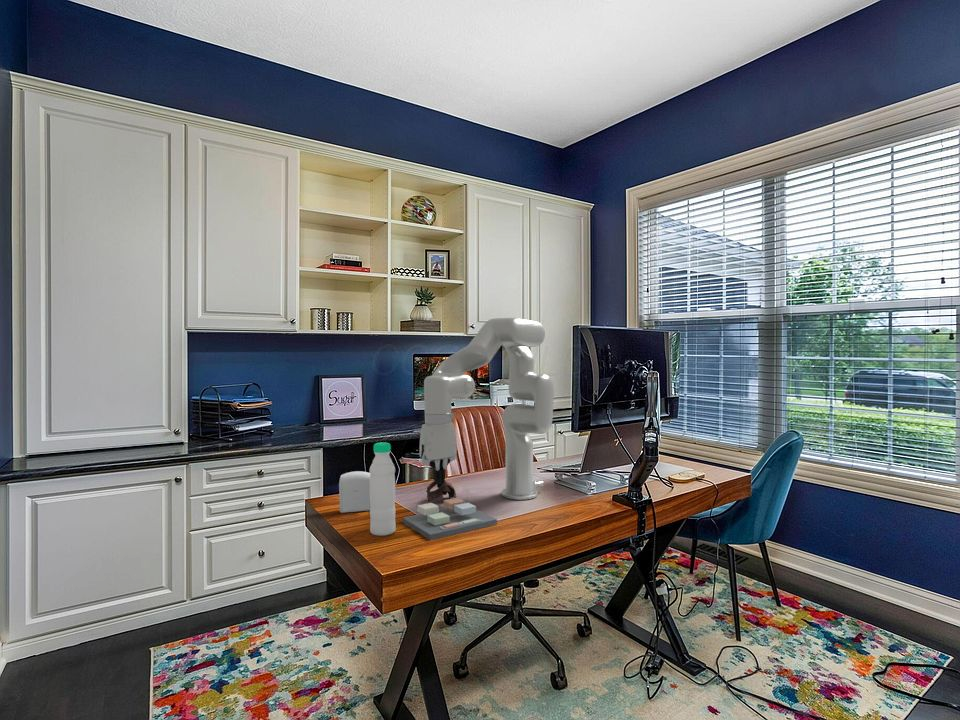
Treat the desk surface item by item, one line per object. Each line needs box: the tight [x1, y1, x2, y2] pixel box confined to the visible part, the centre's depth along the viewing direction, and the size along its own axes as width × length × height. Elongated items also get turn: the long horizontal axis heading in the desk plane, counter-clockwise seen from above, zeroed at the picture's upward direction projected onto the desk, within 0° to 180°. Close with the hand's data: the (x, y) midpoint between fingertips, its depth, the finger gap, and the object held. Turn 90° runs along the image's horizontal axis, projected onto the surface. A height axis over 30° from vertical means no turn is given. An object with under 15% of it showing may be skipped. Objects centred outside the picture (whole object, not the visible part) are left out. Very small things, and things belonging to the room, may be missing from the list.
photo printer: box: [338, 470, 371, 514], centre depth 168 cm, size 10×4×12 cm, turn 104°
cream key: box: [416, 502, 440, 515], centre depth 157 cm, size 5×4×2 cm
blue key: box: [454, 502, 477, 515], centre depth 157 cm, size 5×4×2 cm
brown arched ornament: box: [425, 480, 457, 502], centre depth 180 cm, size 12×10×8 cm
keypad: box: [402, 508, 498, 541], centre depth 156 cm, size 22×17×2 cm
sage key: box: [427, 512, 450, 526], centre depth 152 cm, size 5×4×2 cm
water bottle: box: [369, 441, 397, 537], centre depth 149 cm, size 7×7×25 cm
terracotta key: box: [443, 497, 466, 510], centre depth 162 cm, size 5×4×2 cm
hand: (439, 482), depth 152 cm, fingers closed
